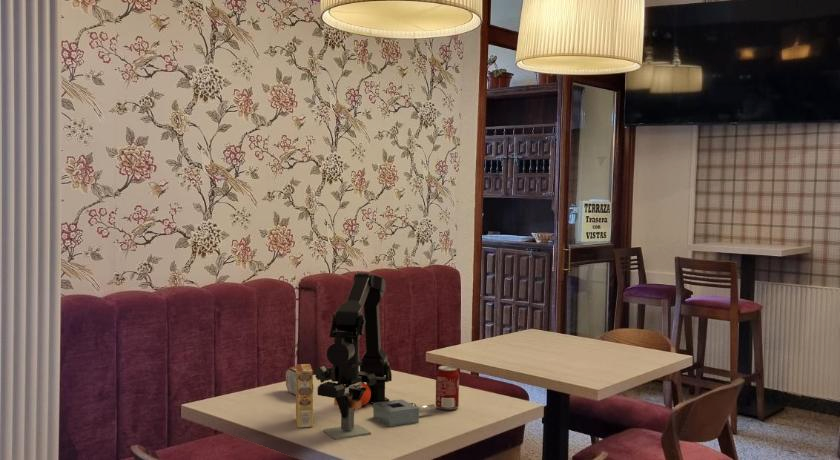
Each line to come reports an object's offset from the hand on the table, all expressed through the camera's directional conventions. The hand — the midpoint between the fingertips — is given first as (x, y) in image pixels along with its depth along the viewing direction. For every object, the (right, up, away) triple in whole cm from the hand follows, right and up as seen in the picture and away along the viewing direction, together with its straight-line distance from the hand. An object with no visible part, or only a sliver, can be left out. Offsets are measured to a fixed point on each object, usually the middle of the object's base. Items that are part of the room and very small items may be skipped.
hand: (347, 416), depth 209 cm
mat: (0, -4, 0) cm, 4 cm away
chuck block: (+16, -4, +15) cm, 22 cm away
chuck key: (0, -3, 0) cm, 3 cm away
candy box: (-13, -4, +8) cm, 15 cm away
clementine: (+1, -3, +27) cm, 27 cm away
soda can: (+27, -4, +26) cm, 37 cm away
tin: (-18, -2, +37) cm, 41 cm away
